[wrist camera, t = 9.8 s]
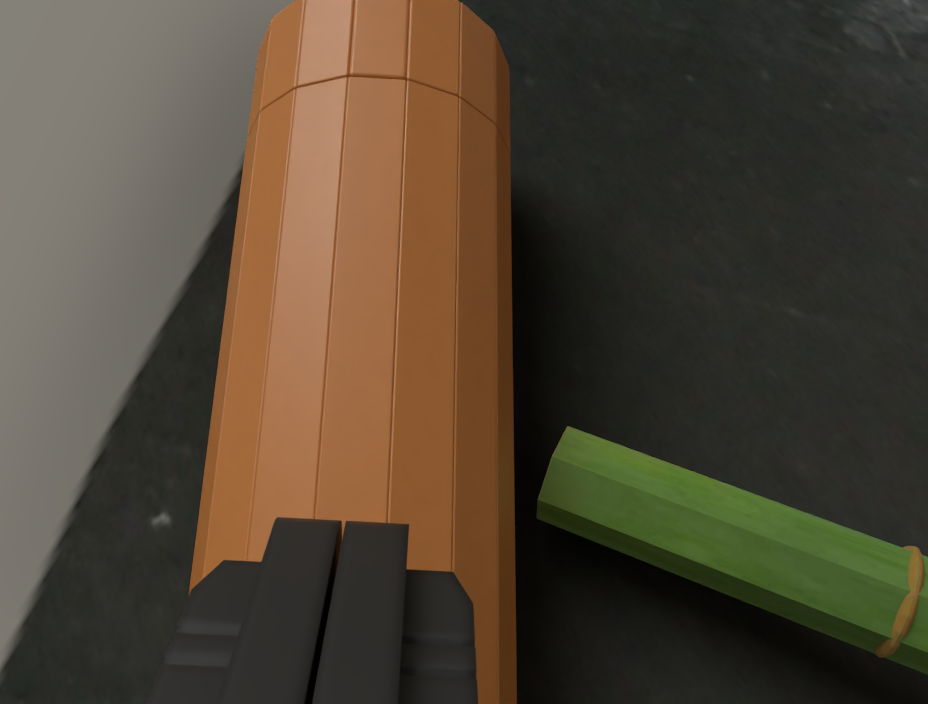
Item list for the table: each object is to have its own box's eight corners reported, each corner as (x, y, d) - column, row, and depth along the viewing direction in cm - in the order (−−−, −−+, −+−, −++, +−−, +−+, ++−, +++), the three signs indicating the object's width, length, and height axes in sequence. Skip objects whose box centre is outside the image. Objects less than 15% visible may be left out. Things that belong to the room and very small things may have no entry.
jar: (449, 802, 11) (462, -51, 17) (88, 785, 13) (210, 15, 19) (549, 772, 16) (533, 124, 22) (280, 763, 18) (329, 163, 24)
